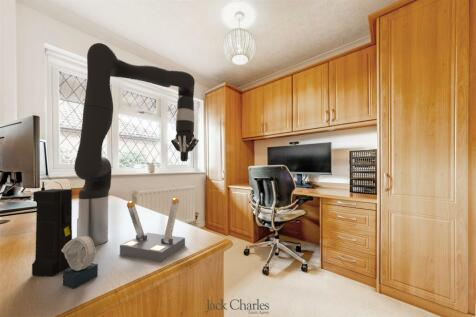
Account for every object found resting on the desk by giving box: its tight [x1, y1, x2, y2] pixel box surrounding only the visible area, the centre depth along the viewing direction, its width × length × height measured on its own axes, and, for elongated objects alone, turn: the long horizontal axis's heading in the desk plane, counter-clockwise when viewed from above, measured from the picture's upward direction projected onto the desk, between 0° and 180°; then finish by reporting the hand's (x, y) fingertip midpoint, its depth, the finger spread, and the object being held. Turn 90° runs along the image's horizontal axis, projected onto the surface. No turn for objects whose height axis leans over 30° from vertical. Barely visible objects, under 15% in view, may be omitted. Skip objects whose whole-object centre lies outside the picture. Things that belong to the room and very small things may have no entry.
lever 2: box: [163, 197, 180, 242], centre depth 67 cm, size 2×2×14 cm
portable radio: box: [31, 181, 73, 278], centre depth 54 cm, size 8×6×25 cm
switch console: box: [119, 232, 186, 263], centre depth 66 cm, size 17×12×4 cm
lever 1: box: [126, 200, 145, 239], centre depth 66 cm, size 2×2×14 cm
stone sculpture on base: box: [62, 236, 99, 289], centre depth 49 cm, size 6×8×11 cm
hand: (184, 161), depth 82 cm, fingers closed
